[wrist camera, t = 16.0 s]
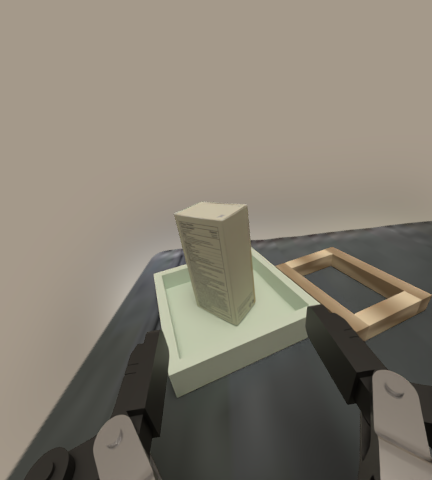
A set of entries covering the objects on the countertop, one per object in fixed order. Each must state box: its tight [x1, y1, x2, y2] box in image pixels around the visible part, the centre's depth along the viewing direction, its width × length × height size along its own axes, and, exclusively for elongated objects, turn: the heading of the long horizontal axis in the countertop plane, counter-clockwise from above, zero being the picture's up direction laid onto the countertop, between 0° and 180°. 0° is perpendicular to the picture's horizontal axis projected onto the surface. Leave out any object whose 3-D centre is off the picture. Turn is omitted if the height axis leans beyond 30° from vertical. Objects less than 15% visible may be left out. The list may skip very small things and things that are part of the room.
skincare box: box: [174, 202, 256, 325], centre depth 22 cm, size 6×4×12 cm
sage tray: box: [154, 247, 320, 398], centre depth 25 cm, size 15×15×3 cm
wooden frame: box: [275, 247, 432, 341], centre depth 25 cm, size 10×12×2 cm
